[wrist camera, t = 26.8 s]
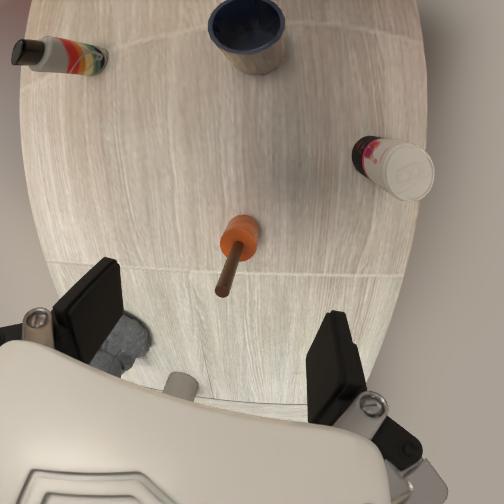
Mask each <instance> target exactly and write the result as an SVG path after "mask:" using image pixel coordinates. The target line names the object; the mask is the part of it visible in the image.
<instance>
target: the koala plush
mask: <svg viewBox="0 0 504 504" xmlns="http://www.w3.org/2000/svg"><path fill="white" fill-rule="evenodd" d="M147 338H148V332H147V331H146V329H145V328H143V327H142V326H141V324H140V323H139V322H138V321H137V320H133V319H131V318H129V317H127V316H126V315H124V314H123V315H122V317H121V318H120V320H119V321H118V323H117V324H116V326H115V327H114V328H113V330H112V331H111V333H110V334H109V336H108V337H107V338H106V340H105V341H104V343H103V344H102V346H101V347H100V349H99V350H98V352H97V353H96V355H95V356H94V358H93V359H92V361H91V362H90V364H89V365H90V366H92V367H94V368H97V369H99V370H101V371H104V372H106V373H108V374H111V375H113V376H116V377H118V378H121V374H123V373H124V372H125V371H127V370H129V369H130V368H131V367H132V366H133V363H134V361H135V358H139V357H141V356H144V355H145V354H146V353H147V352H148V351H149V346H148V339H147Z"/></svg>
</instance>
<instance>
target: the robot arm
mask: <svg viewBox="0 0 504 504" xmlns="http://www.w3.org/2000/svg"><path fill="white" fill-rule="evenodd" d="M123 312H124V308H123V298H122V288H121V276H120V265H119V264H117V261H116V260H115V259H111V258H107V257H104V258H103V259H101V260H100V261H99V262H98V263H97V264H96V265H95V266H94V267H93V268H92V269H90V270H89V271H88V272H87V273H86V274H85V275H84V276H83V277H82V278H81V279H80V280H79V281H78V282H77V283H76V284H75V285H74V286H73V287H72V288H71V289H70V290H69V291H68V292H67V293H66V294H65V295H64V296H63V297H62V298H61V299H60V300H59V301H58V302H57V303H56V304H55V305H54V306H53V310H52V311H51V312H50V311H49V310H47V309H46V308H35V309H32V310H30V311H29V312H27V313H26V315H25V316H24V319H23V323H21V324H16V325H11V326H6V327H1V328H0V504H443V503H444V502H445V500H446V499H447V496H448V488H447V486H446V484H445V483H444V481H443V480H442V478H441V477H440V476H439V474H438V473H437V472H436V470H435V469H434V468H433V466H432V465H431V464H430V462H429V461H428V460H427V459H425V460H424V459H423V458H422V453H423V449H422V445H421V443H420V441H419V440H418V439H417V438H416V437H414V436H413V435H412V434H410V433H409V432H408V431H406V430H405V429H404V428H403V427H401V426H400V425H399V424H397V423H396V422H395V421H394V420H392V419H391V418H390V417H388V416H387V414H388V404H387V401H386V400H385V399H384V398H383V397H382V396H381V395H380V394H378V393H376V392H373V391H367V387H366V382H365V378H364V373H363V369H362V364H361V360H360V356H359V352H358V348H357V345H356V344H354V343H353V341H352V337H351V333H350V329H349V325H348V321H347V318H346V314H345V313H344V312H340V311H335V310H332V311H331V312H330V313H326V315H325V317H324V319H323V322H322V324H321V326H320V328H319V330H318V332H317V335H316V337H315V339H314V341H313V343H312V345H311V347H310V349H309V351H308V353H307V356H306V377H307V406H308V423H304V422H295V421H288V420H280V419H274V418H268V417H261V416H255V415H249V414H244V413H239V412H234V411H229V410H224V409H220V408H215V407H211V406H207V405H203V404H199V403H195V402H191V401H188V400H184V399H181V398H177V397H174V396H170V395H167V394H164V393H161V392H158V391H155V390H152V389H149V388H146V387H143V386H140V385H137V384H134V383H132V382H129V381H126V380H124V379H121V378H118V377H116V376H113V375H111V374H108V373H106V372H104V371H101V370H99V369H97V368H94V367H92V366H90V365H89V364H90V362H91V361H92V359H93V358H94V356H95V355H96V353H97V352H98V350H99V349H100V347H101V346H102V344H103V343H104V341H105V340H106V338H107V337H108V336H109V334H110V333H111V331H112V330H113V328H114V327H115V326H116V324H117V323H118V321H119V320H120V318H121V317H122V315H123ZM311 423H312V424H311Z"/></svg>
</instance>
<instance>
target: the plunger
mask: <svg viewBox="0 0 504 504" xmlns="http://www.w3.org/2000/svg"><path fill="white" fill-rule="evenodd" d="M259 233H260V228H259V225H258V223H257V222H256V220H255V219H253V218H252V217H250V216H247V215H238V216H236V217H234V218H233V219H231V221H230V222H229V224H228V226H227V228H226V230H225V232H224V234H223V235H222V237H221V241H220V247H221V250H222V252H223V254H224V255H225V256H226V257H227V260H226V263H225V265H224V268H223V270H222V273H221V275H220V278H219V280H218V283H217V286H216V288H215V293H216V295H217V296H219V297H222V298H224V297H227V296H228V295H229V292H230V289H231V286H232V282H233V279H234V276H235V273H236V269H237V266H238V263H239V262H241V261H246V260H248V259H250V258H251V257H252V256H253V255H254V254H255V252H256V248H257V243H258V238H259Z"/></svg>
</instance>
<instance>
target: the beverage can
mask: <svg viewBox="0 0 504 504" xmlns="http://www.w3.org/2000/svg"><path fill="white" fill-rule="evenodd" d="M352 161H353V164H354V166H355V168H356V169H357V170H358V171H359V172H360V173H361V174H362V175H364V176H365V177H367V178H368V179H370V180H371V181H373V182H374V183H376V184H377V185H379V186H380V187H381V188H383V189H384V190H386V191H387V192H388V193H390V194H391V195H392V196H394V197H395V198H397V199H399V200H402V201H409V202H412V201H417V200H419V199H421V198H423V197H424V196H425V195H426V194H427V193H428V192H429V191H430V189H431V187H432V185H433V182H434V173H435V172H434V166H433V162H432V160H431V158H430V156H429V155H428V154H427V153H426V152H425V151H424V150H423V149H422V148H421V147H419V146H417V145H415V144H412V143H407V142H402V141H397V140H392V139H387V138H381V137H375V136H366V137H363V138H361V139H360V140H359V141H358V142H357V143H356V144H355V146H354V148H353V151H352Z"/></svg>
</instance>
